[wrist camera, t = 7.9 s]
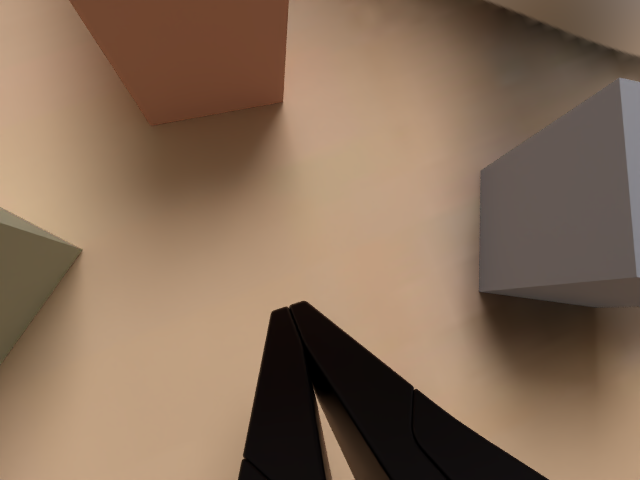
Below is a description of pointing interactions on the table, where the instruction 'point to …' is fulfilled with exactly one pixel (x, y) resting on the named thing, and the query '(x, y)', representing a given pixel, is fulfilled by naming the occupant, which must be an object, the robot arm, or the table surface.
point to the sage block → (27, 273)
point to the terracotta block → (192, 52)
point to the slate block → (568, 207)
